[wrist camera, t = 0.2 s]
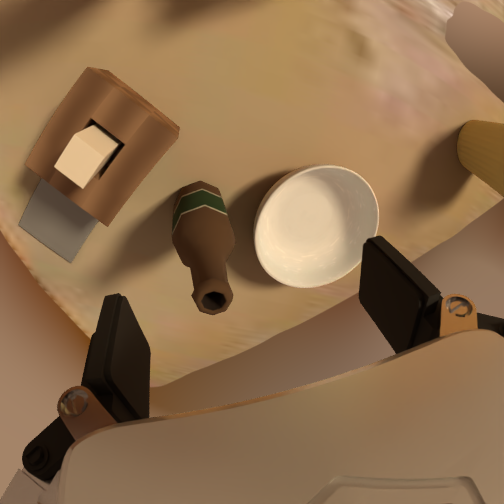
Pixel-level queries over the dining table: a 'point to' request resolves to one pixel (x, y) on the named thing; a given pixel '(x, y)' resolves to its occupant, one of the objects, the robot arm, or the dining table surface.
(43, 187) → the rubber mat
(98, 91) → the wooden square ring
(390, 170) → the dining table surface
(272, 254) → the serving bowl
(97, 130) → the square peg
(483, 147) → the potted cactus
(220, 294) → the beer bottle
